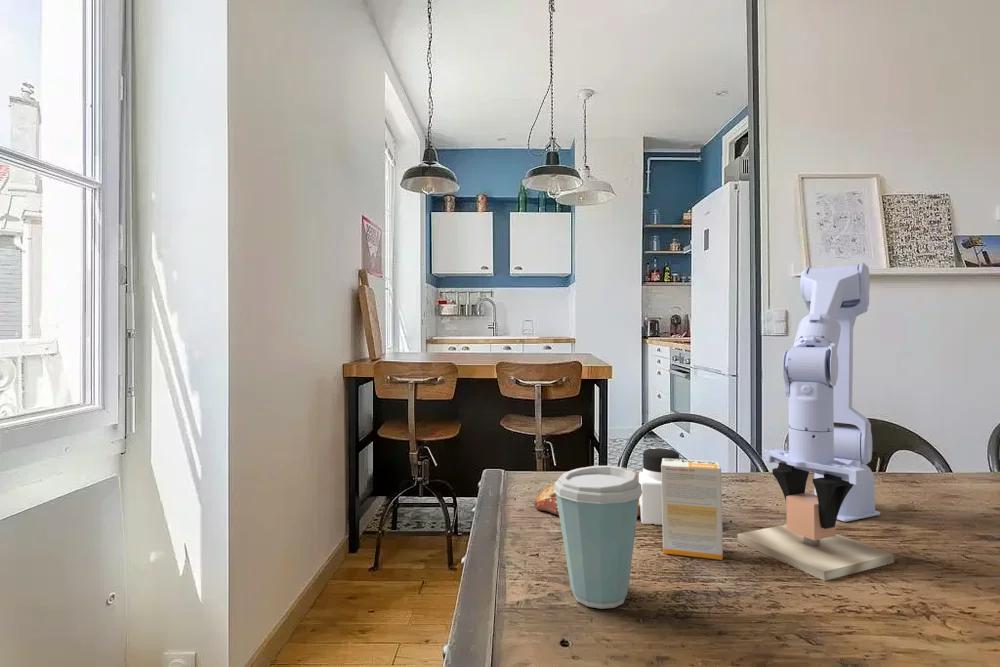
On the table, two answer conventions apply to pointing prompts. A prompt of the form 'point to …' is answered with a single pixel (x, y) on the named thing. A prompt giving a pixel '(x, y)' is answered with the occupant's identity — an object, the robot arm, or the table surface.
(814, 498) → the salmon pink cube
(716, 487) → the supplement box
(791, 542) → the post board
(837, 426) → the robot arm
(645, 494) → the medicine bottle
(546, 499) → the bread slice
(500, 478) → the table surface
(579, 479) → the disposable coffee cup
